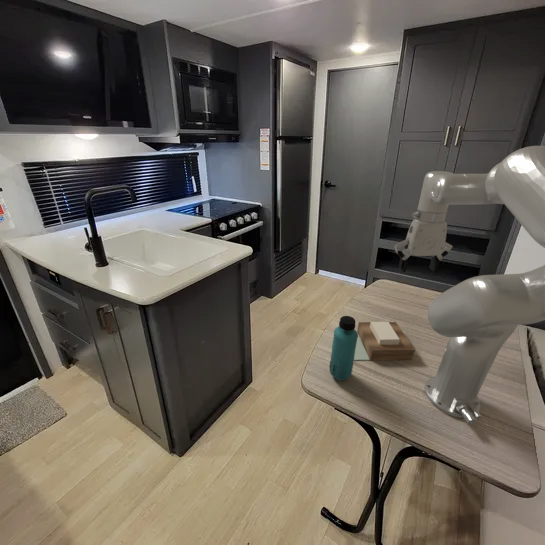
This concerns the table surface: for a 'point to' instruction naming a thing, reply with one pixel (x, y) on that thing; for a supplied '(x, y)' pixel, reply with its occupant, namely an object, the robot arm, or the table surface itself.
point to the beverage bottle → (343, 348)
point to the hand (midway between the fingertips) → (417, 270)
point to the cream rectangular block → (384, 333)
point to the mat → (360, 351)
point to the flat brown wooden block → (385, 351)
